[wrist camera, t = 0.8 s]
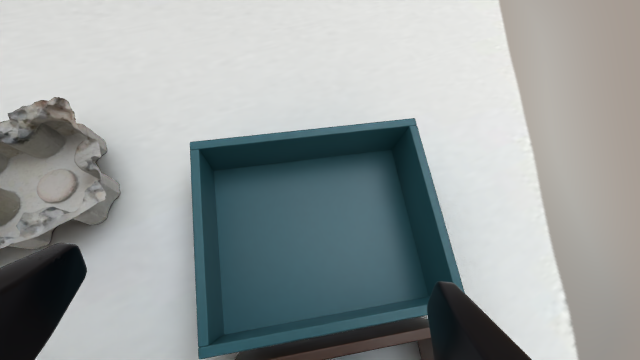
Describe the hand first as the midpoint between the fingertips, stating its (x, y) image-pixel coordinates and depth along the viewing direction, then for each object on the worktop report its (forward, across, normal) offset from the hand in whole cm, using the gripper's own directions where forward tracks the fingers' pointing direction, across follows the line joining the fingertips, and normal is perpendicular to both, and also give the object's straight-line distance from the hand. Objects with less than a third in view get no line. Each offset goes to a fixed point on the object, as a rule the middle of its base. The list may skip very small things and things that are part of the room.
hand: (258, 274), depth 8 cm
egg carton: (+10, +16, +7) cm, 21 cm away
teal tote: (+11, -2, +7) cm, 13 cm away
